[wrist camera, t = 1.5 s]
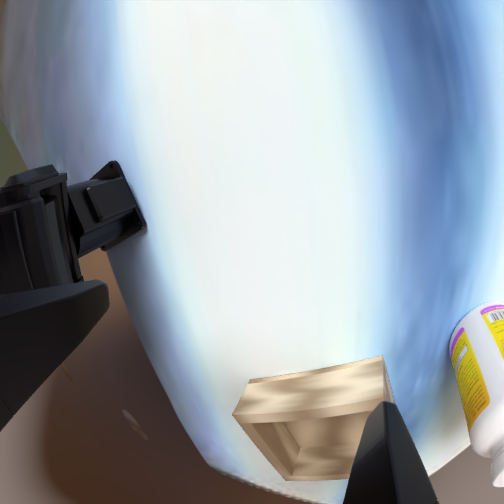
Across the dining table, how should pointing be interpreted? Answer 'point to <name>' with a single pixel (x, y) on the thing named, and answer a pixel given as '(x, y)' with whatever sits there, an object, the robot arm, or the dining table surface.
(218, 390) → the dining table surface
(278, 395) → the birch box
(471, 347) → the supplement bottle
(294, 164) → the dining table surface
